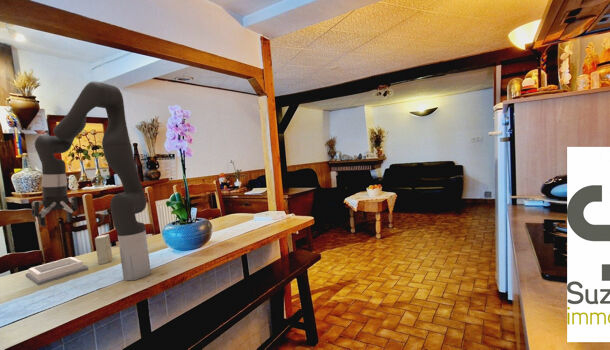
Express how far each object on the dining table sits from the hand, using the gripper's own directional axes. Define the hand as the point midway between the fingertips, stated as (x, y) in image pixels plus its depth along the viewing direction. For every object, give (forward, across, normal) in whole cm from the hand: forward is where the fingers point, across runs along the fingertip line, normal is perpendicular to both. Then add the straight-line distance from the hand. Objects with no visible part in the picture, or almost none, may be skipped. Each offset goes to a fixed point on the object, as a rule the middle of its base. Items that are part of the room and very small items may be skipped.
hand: (56, 223), depth 114 cm
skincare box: (+21, +16, -3) cm, 27 cm away
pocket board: (+23, +1, +5) cm, 23 cm away
